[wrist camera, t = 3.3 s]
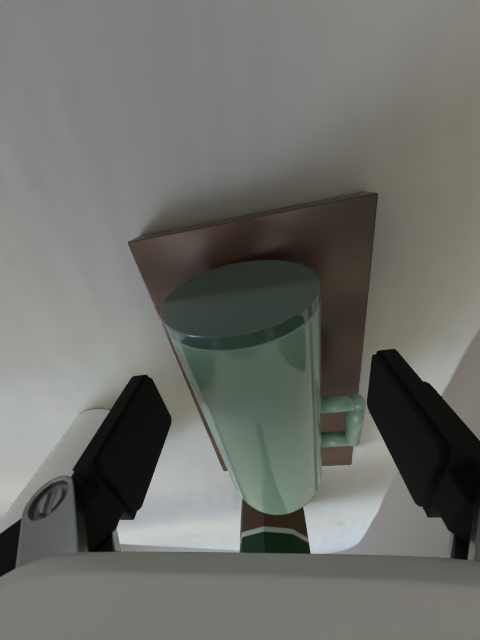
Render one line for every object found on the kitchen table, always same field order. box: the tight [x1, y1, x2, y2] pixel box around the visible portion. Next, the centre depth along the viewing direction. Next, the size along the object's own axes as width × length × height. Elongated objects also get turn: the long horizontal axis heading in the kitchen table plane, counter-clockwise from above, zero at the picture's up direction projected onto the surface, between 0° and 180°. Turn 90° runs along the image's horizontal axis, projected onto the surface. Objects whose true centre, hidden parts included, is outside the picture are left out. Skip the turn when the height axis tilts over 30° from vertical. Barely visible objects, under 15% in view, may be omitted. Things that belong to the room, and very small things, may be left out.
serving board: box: [128, 192, 378, 471], centre depth 19 cm, size 24×13×2 cm, turn 11°
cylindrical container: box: [0, 409, 110, 533], centre depth 14 cm, size 7×7×25 cm
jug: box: [161, 260, 365, 515], centre depth 13 cm, size 7×9×14 cm
